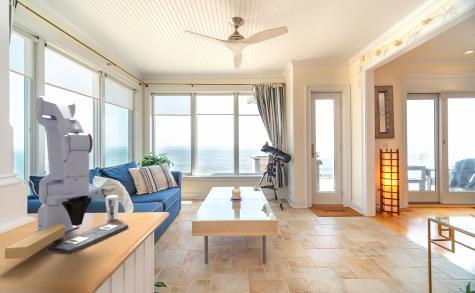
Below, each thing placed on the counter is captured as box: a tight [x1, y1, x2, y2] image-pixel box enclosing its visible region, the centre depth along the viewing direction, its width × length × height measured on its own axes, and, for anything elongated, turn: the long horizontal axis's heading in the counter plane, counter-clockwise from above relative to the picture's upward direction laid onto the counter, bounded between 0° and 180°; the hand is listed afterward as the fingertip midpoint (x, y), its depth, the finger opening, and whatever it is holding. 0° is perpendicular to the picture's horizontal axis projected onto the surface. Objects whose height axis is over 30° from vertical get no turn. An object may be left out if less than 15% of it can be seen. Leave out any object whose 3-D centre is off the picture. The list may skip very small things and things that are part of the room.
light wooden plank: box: [4, 224, 66, 260], centre depth 60 cm, size 16×4×2 cm, turn 8°
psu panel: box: [46, 222, 129, 255], centre depth 70 cm, size 8×20×1 cm, turn 164°
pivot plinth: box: [52, 235, 64, 244], centre depth 67 cm, size 2×2×2 cm
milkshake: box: [104, 193, 120, 222], centre depth 87 cm, size 4×5×10 cm
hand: (76, 224), depth 65 cm, fingers closed
